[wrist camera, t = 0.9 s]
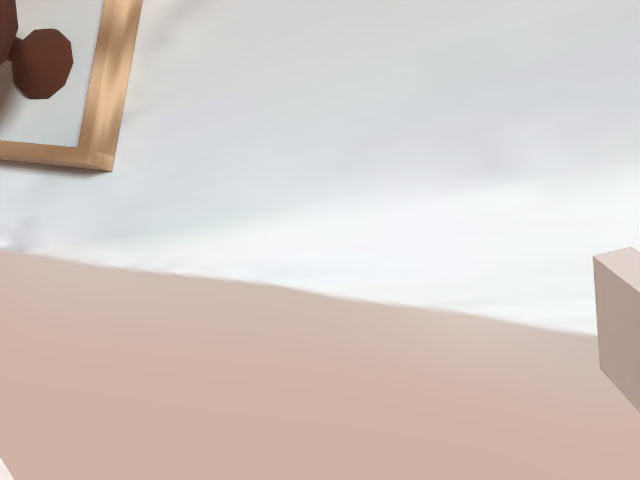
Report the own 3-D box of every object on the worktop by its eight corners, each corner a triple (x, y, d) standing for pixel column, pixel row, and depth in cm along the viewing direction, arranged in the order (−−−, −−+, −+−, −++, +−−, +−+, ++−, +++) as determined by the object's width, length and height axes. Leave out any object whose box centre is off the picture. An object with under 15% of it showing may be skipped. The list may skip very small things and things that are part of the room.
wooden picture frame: (-59, -59, 47) (-88, -77, 45) (156, -77, 40) (134, -99, 37) (-101, 148, 46) (-132, 140, 44) (111, 171, 39) (86, 163, 36)
